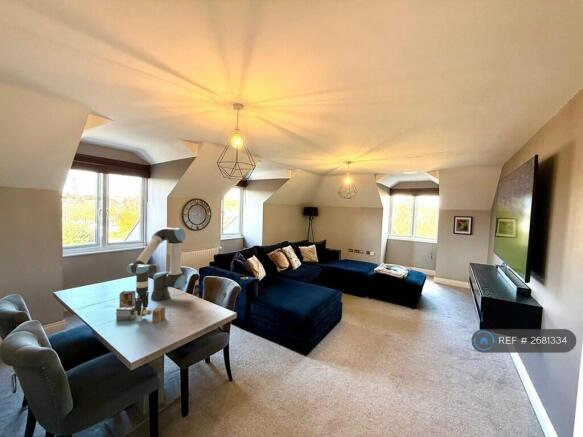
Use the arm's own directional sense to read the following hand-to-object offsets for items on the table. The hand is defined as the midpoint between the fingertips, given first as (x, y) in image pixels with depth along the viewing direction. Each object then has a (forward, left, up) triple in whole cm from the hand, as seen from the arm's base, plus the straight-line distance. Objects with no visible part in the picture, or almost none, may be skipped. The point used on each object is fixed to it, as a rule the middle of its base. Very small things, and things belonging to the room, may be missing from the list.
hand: (141, 317), depth 178 cm
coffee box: (-11, -17, -2) cm, 21 cm away
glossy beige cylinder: (0, -2, +2) cm, 3 cm away
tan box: (0, +12, -2) cm, 12 cm away
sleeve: (0, -11, -2) cm, 11 cm away
